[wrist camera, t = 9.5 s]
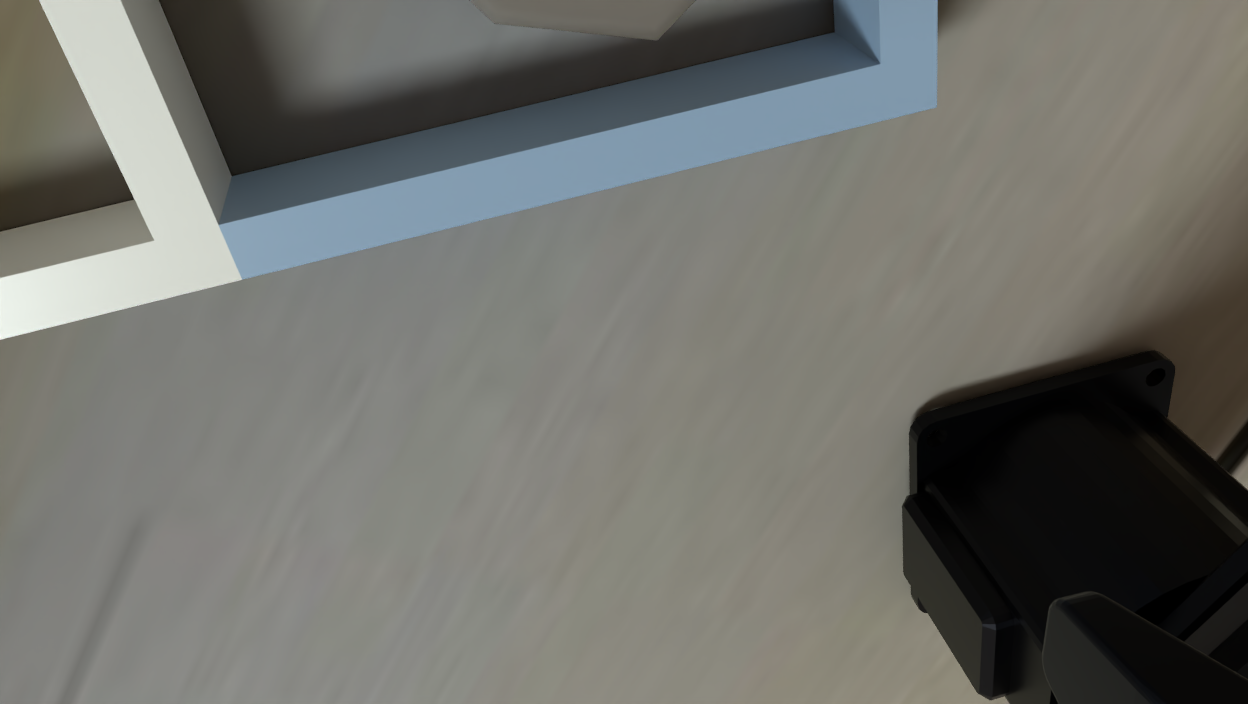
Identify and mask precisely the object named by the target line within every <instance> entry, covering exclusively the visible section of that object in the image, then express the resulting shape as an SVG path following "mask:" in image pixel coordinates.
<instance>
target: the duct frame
mask: <svg viewBox="0 0 1248 704" xmlns="http://www.w3.org/2000/svg"><path fill="white" fill-rule="evenodd" d="M39 1H40V3H41V5H42V7H43V9H44V12H45V14H46V16H47V18H48V20H49V22H50V24H51V26H52V28H53V30H54V32H55V34H56V37H57V39H58V41H59V43H60V45H61V47H62V49H63V51H64V53H65V55H66V57H67V59H68V62H69V64H70V66H71V68H72V70H73V72H74V74H75V76H76V78H77V80H78V82H79V85H80V87H81V89H82V91H83V93H84V95H85V97H86V99H87V101H88V103H89V105H90V107H91V110H92V112H93V114H94V116H95V118H96V120H97V122H98V124H99V126H100V128H101V130H102V133H103V135H104V137H105V139H106V141H107V143H108V145H109V147H110V149H111V151H112V153H113V155H114V158H115V160H116V162H117V164H118V166H119V168H120V170H121V172H122V174H123V176H124V178H125V181H126V183H127V185H128V187H129V189H130V191H131V193H132V195H133V197H134V199H135V200H131V201H126V202H122V203H118V204H114V205H110V206H105V207H101V208H97V209H93V210H89V211H85V212H80V213H76V214H72V215H68V216H64V217H59V218H55V219H51V220H47V221H43V222H39V223H34V224H30V225H26V226H22V227H18V228H13V229H9V230H5V231H1V232H0V340H1V339H5V338H9V337H13V336H17V335H21V334H25V333H29V332H33V331H37V330H41V329H45V328H49V327H53V326H57V325H61V324H65V323H69V322H73V321H77V320H81V319H85V318H89V317H93V316H97V315H102V314H106V313H110V312H114V311H118V310H122V309H126V308H130V307H134V306H138V305H142V304H146V303H150V302H154V301H158V300H162V299H166V298H170V297H174V296H178V295H182V294H186V293H190V292H194V291H198V290H202V289H206V288H210V287H214V286H218V285H222V284H226V283H231V282H235V281H239V280H243V279H247V278H251V277H255V276H259V275H263V274H267V273H271V272H275V271H279V270H283V269H287V268H291V267H295V266H299V265H303V264H307V263H311V262H315V261H319V260H323V259H327V258H331V257H335V256H339V255H343V254H347V253H351V252H356V251H360V250H364V249H368V248H372V247H376V246H380V245H384V244H388V243H392V242H396V241H400V240H404V239H408V238H412V237H416V236H420V235H424V234H428V233H432V232H436V231H440V230H444V229H448V228H452V227H456V226H460V225H464V224H468V223H472V222H476V221H480V220H485V219H489V218H493V217H497V216H501V215H505V214H509V213H513V212H517V211H521V210H525V209H529V208H533V207H537V206H541V205H545V204H549V203H553V202H557V201H561V200H565V199H569V198H573V197H577V196H581V195H585V194H589V193H593V192H597V191H601V190H605V189H610V188H614V187H618V186H622V185H626V184H630V183H634V182H638V181H642V180H646V179H650V178H654V177H658V176H662V175H666V174H670V173H674V172H678V171H682V170H686V169H690V168H694V167H698V166H702V165H706V164H710V163H714V162H718V161H722V160H726V159H730V158H734V157H739V156H743V155H747V154H751V153H755V152H759V151H763V150H767V149H771V148H775V147H779V146H783V145H787V144H791V143H795V142H799V141H803V140H807V139H811V138H815V137H819V136H823V135H827V134H831V133H835V132H839V131H843V130H847V129H851V128H855V127H859V126H864V125H868V124H872V123H876V122H880V121H884V120H888V119H892V118H896V117H900V116H904V115H908V114H912V113H916V112H920V111H924V110H928V109H932V108H936V107H937V20H938V0H833V6H834V26H835V32H833V33H829V34H825V35H821V36H816V37H812V38H808V39H804V40H800V41H795V42H791V43H787V44H783V45H779V46H775V47H770V48H766V49H762V50H758V51H754V52H749V53H745V54H741V55H737V56H733V57H729V58H724V59H720V60H716V61H712V62H708V63H703V64H699V65H695V66H691V67H687V68H683V69H678V70H674V71H670V72H666V73H662V74H657V75H653V76H649V77H645V78H641V79H637V80H632V81H628V82H624V83H620V84H616V85H611V86H607V87H603V88H599V89H595V90H591V91H586V92H582V93H578V94H574V95H570V96H565V97H561V98H557V99H553V100H549V101H545V102H540V103H536V104H532V105H528V106H524V107H519V108H515V109H511V110H507V111H503V112H499V113H494V114H490V115H486V116H482V117H478V118H473V119H469V120H465V121H461V122H457V123H453V124H448V125H444V126H440V127H436V128H432V129H427V130H423V131H419V132H415V133H411V134H407V135H402V136H398V137H394V138H390V139H386V140H381V141H377V142H373V143H369V144H365V145H361V146H356V147H352V148H348V149H344V150H340V151H335V152H331V153H327V154H323V155H319V156H315V157H310V158H306V159H302V160H298V161H294V162H289V163H285V164H281V165H277V166H273V167H269V168H264V169H260V170H256V171H252V172H248V173H243V174H239V175H235V176H231V173H230V171H229V168H228V166H227V164H226V161H225V159H224V156H223V154H222V151H221V149H220V147H219V144H218V142H217V139H216V137H215V135H214V132H213V130H212V127H211V125H210V123H209V120H208V118H207V115H206V113H205V110H204V108H203V106H202V103H201V101H200V98H199V96H198V94H197V91H196V89H195V86H194V84H193V82H192V79H191V77H190V74H189V72H188V69H187V67H186V65H185V62H184V60H183V57H182V55H181V53H180V50H179V48H178V45H177V43H176V41H175V38H174V36H173V33H172V31H171V28H170V26H169V24H168V21H167V19H166V16H165V14H164V12H163V9H162V7H161V4H160V2H159V0H39Z"/></svg>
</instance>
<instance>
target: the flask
mask: <svg viewBox="0 0 1248 704" xmlns="http://www.w3.org/2000/svg"><path fill="white" fill-rule="evenodd" d="M469 1H471V2H472V3H473V4H474V5H475V6H476V7H477V8H478V9H479V10H480V11H481V12H482V13H484V14H485V15H486V16H487V17H488V18H489V19H490V20H491V21H492V22H493V23H494V24H504V25H513V26H523V27H532V28H542V29H552V30H561V31H571V32H580V33H590V34H600V35H609V36H619V37H629V38H638V39H648V40H658V39H659V38H660V37H661V36H662V35H663V34H664V33H665V32H666V31H667V30H668V29H669V28H670V27H671V26H672V25H673V24H674V23H675V22H676V21H677V19H678V18H679V17H680V16H681V15H682V14H683V13H684V12H685V11H686V10H687V9H688V8H689V7H690V6H691V5H692V4H693V3H694V2H695V1H696V0H469Z"/></svg>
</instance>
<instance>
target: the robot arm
mask: <svg viewBox="0 0 1248 704" xmlns="http://www.w3.org/2000/svg"><path fill="white" fill-rule="evenodd" d="M1151 371H1152V372H1151ZM1150 372H1151V373H1150ZM1149 373H1150V374H1149ZM1148 374H1149V375H1148ZM1174 375H1175V366H1174V364H1173V363H1172V362H1171V361H1170V360H1169V359H1168V358H1166V357H1165V356H1164V355H1163V354H1162V353H1160V352H1157V351H1147V352H1143V353H1139V354H1136V355H1132V356H1128V357H1125V358H1121V359H1117V360H1114V361H1110V362H1107V363H1103V364H1099V365H1096V366H1092V367H1088V368H1085V369H1081V370H1077V371H1074V372H1070V373H1067V374H1063V375H1059V376H1056V377H1052V378H1048V379H1045V380H1041V381H1037V382H1034V383H1030V384H1027V385H1023V386H1019V387H1016V388H1012V389H1008V390H1005V391H1001V392H997V393H994V394H990V395H987V396H983V397H979V398H976V399H972V400H968V401H965V402H961V403H957V404H954V405H950V406H947V407H943V408H939V409H936V410H932V411H929V412H926V413H924V414H922V415H920V416H919V417H918V418H917V419H916V420H915V421H914V422H913V424H912V425H911V427H910V432H909V465H910V495H908V496H907V497H906V499H905V501H904V503H903V506H902V522H903V572H904V575H905V577H906V579H907V580H908V582H909V584H910V585H911V595H912V598H913V600H914V602H915V603H916V605H917V607H918V608H919V610H921V611H922V612H924V613H928V614H929V616H930V617H931V619H932V621H933V622H934V624H935V626H936V627H937V629H938V630H939V632H940V634H941V635H942V637H943V638H944V640H945V642H946V643H947V645H948V646H949V648H950V650H951V651H952V653H953V655H954V656H955V658H956V659H957V661H958V663H959V664H960V666H961V667H962V669H963V671H964V672H965V674H966V675H967V677H968V679H969V680H970V682H971V684H972V685H973V687H974V688H975V690H976V692H977V693H978V694H980V695H982V696H983V697H985V698H987V699H989V700H994V699H997V698H1000V697H1004V696H1005V697H1006V699H1007V701H1008V702H1009V704H1248V490H1247V489H1246V488H1245V487H1244V486H1243V485H1242V484H1241V483H1240V482H1238V481H1237V480H1236V479H1235V478H1234V477H1233V476H1232V475H1231V474H1229V473H1228V472H1227V471H1226V470H1225V469H1224V468H1223V467H1222V466H1220V465H1219V464H1218V463H1217V462H1216V461H1215V460H1214V459H1213V458H1211V457H1210V456H1209V455H1208V454H1207V453H1206V452H1205V451H1204V450H1202V449H1201V448H1200V447H1199V446H1198V445H1197V444H1196V443H1195V442H1193V441H1192V440H1191V439H1190V438H1189V437H1188V436H1187V435H1186V434H1184V433H1183V432H1182V431H1181V430H1180V429H1179V428H1178V427H1177V426H1175V425H1174V424H1173V423H1172V422H1171V421H1170V420H1169V419H1168V418H1167V416H1168V410H1169V405H1170V399H1171V393H1172V387H1173V381H1174ZM937 429H938V430H937ZM935 430H937V431H936V433H935V434H933V435H931V436H929V435H930V433H931V432H933V431H935Z"/></svg>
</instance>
